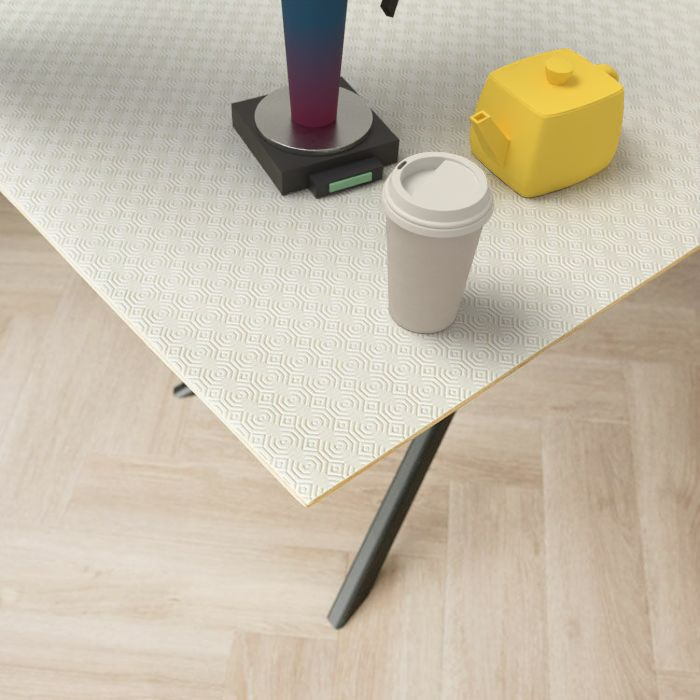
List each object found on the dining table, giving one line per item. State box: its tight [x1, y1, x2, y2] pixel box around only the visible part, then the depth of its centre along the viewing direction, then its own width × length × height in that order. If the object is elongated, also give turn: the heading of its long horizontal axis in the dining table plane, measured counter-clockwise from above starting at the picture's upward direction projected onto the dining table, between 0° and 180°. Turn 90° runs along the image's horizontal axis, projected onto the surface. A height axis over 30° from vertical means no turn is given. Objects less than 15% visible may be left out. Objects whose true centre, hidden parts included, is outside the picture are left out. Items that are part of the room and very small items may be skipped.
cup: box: [280, 0, 349, 128], centre depth 95 cm, size 7×7×15 cm
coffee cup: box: [379, 151, 495, 334], centre depth 80 cm, size 10×10×15 cm
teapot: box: [468, 47, 625, 198], centre depth 98 cm, size 20×12×12 cm, turn 122°
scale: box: [230, 75, 400, 199], centre depth 101 cm, size 16×14×3 cm
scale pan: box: [254, 85, 373, 156], centre depth 100 cm, size 13×13×1 cm
